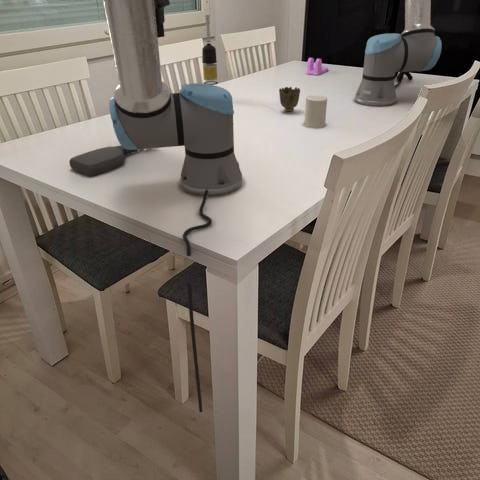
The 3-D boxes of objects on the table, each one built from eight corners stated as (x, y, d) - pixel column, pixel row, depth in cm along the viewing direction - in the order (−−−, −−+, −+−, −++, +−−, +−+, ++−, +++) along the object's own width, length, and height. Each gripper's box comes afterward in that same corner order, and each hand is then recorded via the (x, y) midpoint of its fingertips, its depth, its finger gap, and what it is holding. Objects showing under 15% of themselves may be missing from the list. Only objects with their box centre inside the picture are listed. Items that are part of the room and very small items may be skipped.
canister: (318, 120, 152) (320, 94, 147) (328, 126, 147) (331, 99, 142) (300, 123, 150) (302, 96, 145) (311, 129, 145) (312, 101, 140)
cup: (275, 113, 160) (275, 90, 156) (283, 107, 165) (284, 85, 161) (294, 115, 157) (295, 92, 153) (302, 110, 162) (303, 87, 158)
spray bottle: (67, 168, 120) (139, 144, 136) (91, 178, 114) (163, 151, 130) (65, 157, 118) (137, 134, 134) (89, 167, 112) (162, 142, 128)
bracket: (317, 75, 212) (318, 59, 208) (306, 73, 215) (307, 58, 211) (329, 70, 221) (331, 55, 217) (319, 69, 223) (320, 54, 220)
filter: (220, 99, 177) (217, 15, 161) (206, 100, 176) (202, 16, 160) (215, 96, 182) (212, 14, 166) (202, 97, 180) (197, 14, 164)
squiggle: (400, 92, 202) (376, 71, 205) (417, 76, 202) (392, 56, 205) (405, 81, 191) (380, 59, 194) (423, 64, 191) (397, 42, 194)
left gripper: (178, -63, 104) (186, 36, 115) (105, -59, 116) (118, 31, 127) (156, -64, 99) (166, 40, 110) (82, -59, 111) (98, 34, 122)
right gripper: (447, -77, 122) (431, 10, 133) (550, -84, 107) (522, 15, 118) (458, -76, 126) (441, 8, 138) (559, -83, 111) (531, 12, 123)
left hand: (141, 35), depth 119 cm, fingers open, 13 cm apart
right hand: (479, 11), depth 128 cm, fingers open, 13 cm apart
